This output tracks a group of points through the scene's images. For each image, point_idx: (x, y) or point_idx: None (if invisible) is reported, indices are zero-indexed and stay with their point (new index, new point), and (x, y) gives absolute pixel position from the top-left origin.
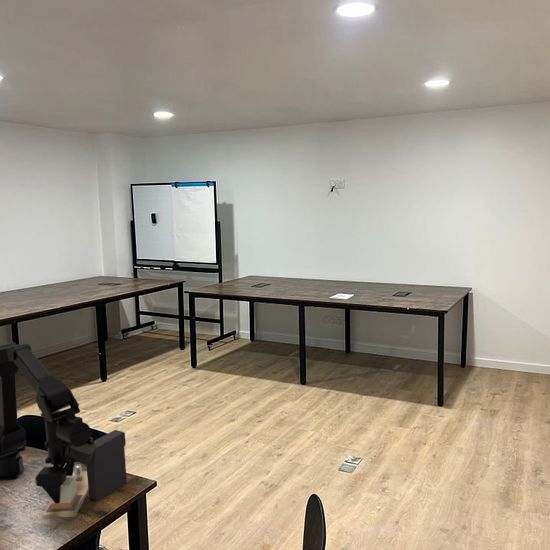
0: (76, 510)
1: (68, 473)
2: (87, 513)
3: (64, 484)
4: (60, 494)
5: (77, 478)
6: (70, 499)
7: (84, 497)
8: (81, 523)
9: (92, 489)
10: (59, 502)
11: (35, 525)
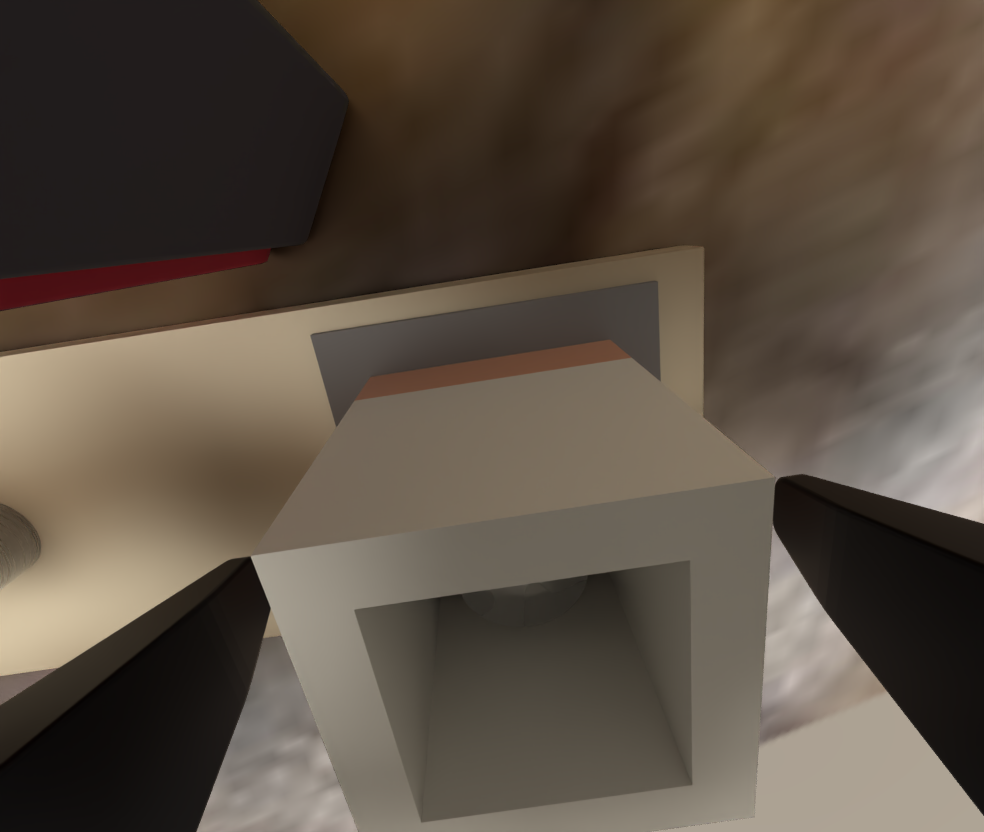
0: (649, 255)
1: (160, 730)
2: (623, 115)
3: (412, 621)
4: (917, 527)
5: (4, 551)
6: (644, 373)
7: (319, 303)
8: (832, 97)
9: (283, 141)
10: (804, 475)
11: (783, 558)
